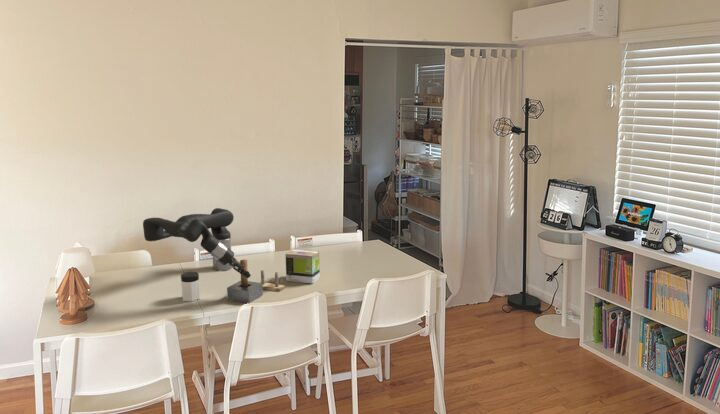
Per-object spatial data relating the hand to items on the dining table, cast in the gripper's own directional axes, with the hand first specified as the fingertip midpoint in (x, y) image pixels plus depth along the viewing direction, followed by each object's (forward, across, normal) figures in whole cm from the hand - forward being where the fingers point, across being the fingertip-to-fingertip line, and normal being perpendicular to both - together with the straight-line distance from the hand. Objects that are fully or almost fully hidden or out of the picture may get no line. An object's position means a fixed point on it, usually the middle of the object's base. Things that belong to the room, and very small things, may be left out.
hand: (248, 275), depth 293 cm
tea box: (+29, -17, +14) cm, 37 cm away
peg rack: (+16, -9, +1) cm, 19 cm away
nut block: (+6, 0, -9) cm, 11 cm away
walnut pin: (+3, 0, -6) cm, 7 cm away
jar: (-11, -7, -26) cm, 29 cm away
